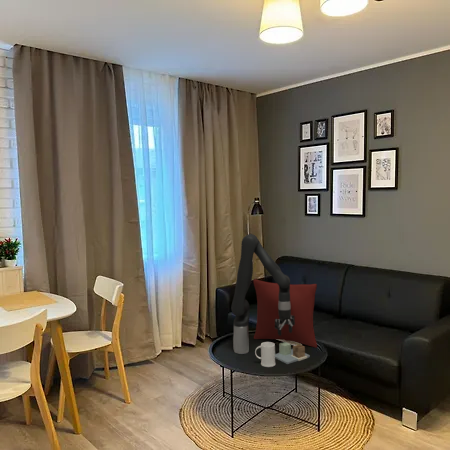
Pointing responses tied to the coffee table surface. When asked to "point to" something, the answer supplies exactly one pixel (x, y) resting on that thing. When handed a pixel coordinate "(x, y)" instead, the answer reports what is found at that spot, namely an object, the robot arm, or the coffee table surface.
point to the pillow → (300, 309)
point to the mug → (267, 354)
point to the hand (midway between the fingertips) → (285, 333)
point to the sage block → (285, 348)
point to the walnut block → (298, 351)
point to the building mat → (289, 357)
